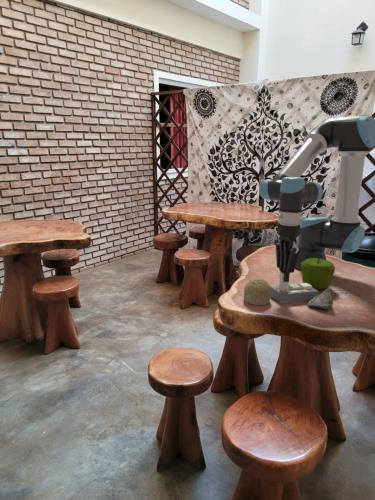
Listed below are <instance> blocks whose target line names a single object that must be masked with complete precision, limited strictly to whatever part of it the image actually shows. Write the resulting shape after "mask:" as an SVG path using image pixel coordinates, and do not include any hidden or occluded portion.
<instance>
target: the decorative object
mask: <svg viewBox="0 0 375 500" xmlns="http://www.w3.org/2000/svg"><path fill="white" fill-rule="evenodd" d="M271 287H272V286H271V285H270V283H268V281H266V279H263V278H253V279H251V280H250V281H248V282H247V283H246V284H245V287H244V290H243V300H244V302H245V303H247V304H249V305H253V306H265V305H268V304H269V303H270V302H271V298H272V297H271Z"/></svg>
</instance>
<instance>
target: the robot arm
mask: <svg viewBox="0 0 375 500" xmlns="http://www.w3.org/2000/svg"><path fill="white" fill-rule="evenodd" d="M331 148H337V153H338V154H339V155H340V157H341V158H340V164H339V165H340V166H339V175H338V184H337V192H336V201H335V210H334V215H333V216H331V218H330V219H329V217H326V216H312V217H305V218H303V217H302V216H303V214H302V213H303V206H304V205H312V204H315V203H317V202H319V201H320V200H321V199H322V197H323V196H324V195H323V194H324V190H323V187H322V185H321V184H320V183H318V182H316V181H306V180H305V178H304V177H301V176H302V175H303V174H304V173H305V171H307V170H308V168H309V167H310V166H311V164H312V163H313V162H314V161H315V159H316V158H317V157H318V156H319V155H321V154H323V153H324V152H325V151H326V150H327V149H331ZM371 148H375V118H374V117H373V116H371V115H354V116H340V117H332V118H329V119H327V120H325V121H323V122H321V123H319V124H318V125H317V126H315V127H314V128H313V129H312V130H311V131H310V132H309V133H308V134H307V135H306V136H305V138H304V142H303V143H302V145H300V147H299V148H298V149H297V150H296V152H294V153H293V155H292V156H291V157H290V159H288V161H287V162H286V163H285V164H284V165H283V167H282V168H281V169H280V170H279V171H278V172H277V173H276V175H275V176H274V177H273V178H272V179H270V178H269V179H264V180H262V182H261V183H260V185H259V195H260V197H261V198H262V199H264V200H268V201H276V202H279V206H278V215H277V222H278V223H277V227H276V235H277V236H278V237H279V238H278V239H276V240H274V244H275V255H276V256H275V258H276V259H275V260H276V268H277V269H278V270H279V271H280V272H279V282H278V283H279V284H278V286H279V289H280V290H288V285H289V284H290V283H289V282H290V274H291V273H295V269H296V268H297V270H299V271H302V270H301V263H302V262H303V261H305V260H306V259H309V258H317V259H323V260H327V256H326V252H325V251H326V249H328V250H329V249H330V250H332V251H338V252H342V253H349V254H350V253H351V254H352V253H354V252H356V251H358V250H359V248H360V247H361V246H362V243H363V241H364V237H365V233H366V230H365V227H364V226H363V225H361V219H360V218H359V217H358V211H359V203H360V196H361V190H362V181H363V175H364V174H363V173H364V165H365V159H366V156H367V155H368V154H370V152H371ZM297 238H298V242H297ZM297 243H298V245H297Z"/></svg>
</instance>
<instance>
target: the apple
mask: <svg viewBox="0 0 375 500" xmlns="http://www.w3.org/2000/svg"><path fill="white" fill-rule="evenodd" d="M335 270H336V266H335V264H334V263H333V262H332V261H330V260H327V259H326V260H323V259H317V258H309V259H306V260H305V261H303V262H302V263H301V270H300V271H301V275H302V280H301V281H302V283H308V284H309V285H311V286H312V288H314V289H316V290H326V289H327V288H329V287H330V286H331V283H332V280H333V277H334V276H335V275H334V274H335Z"/></svg>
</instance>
